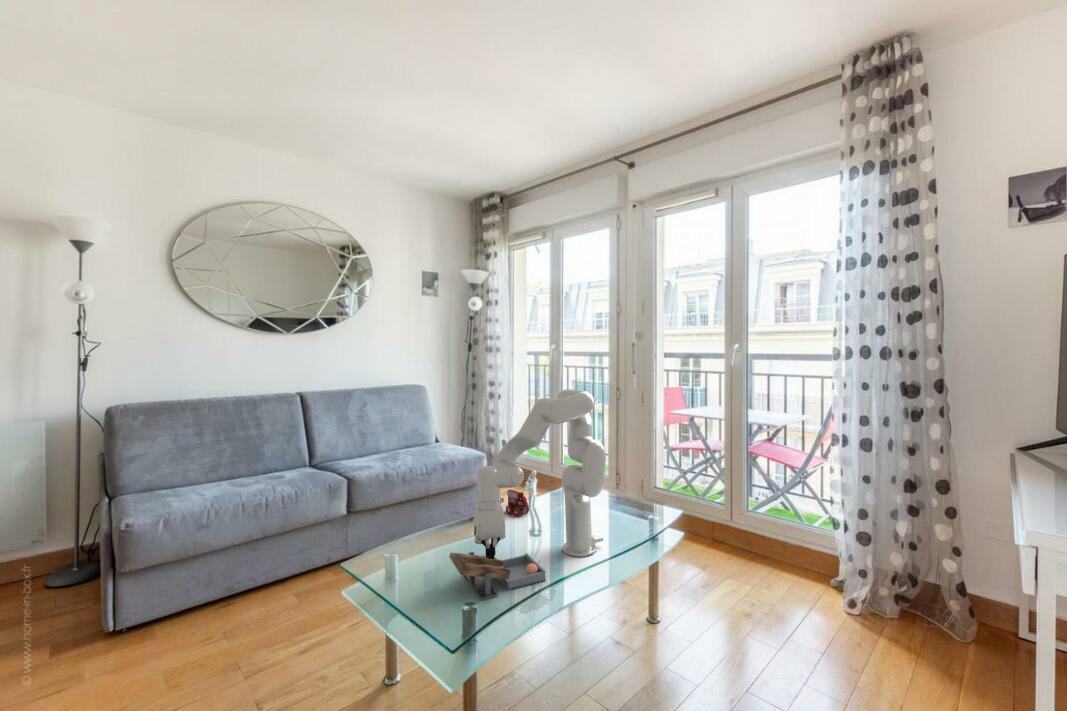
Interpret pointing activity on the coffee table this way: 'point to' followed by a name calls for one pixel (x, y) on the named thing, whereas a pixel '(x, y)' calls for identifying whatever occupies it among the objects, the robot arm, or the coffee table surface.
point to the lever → (479, 565)
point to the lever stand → (482, 585)
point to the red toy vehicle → (516, 503)
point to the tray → (521, 572)
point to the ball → (531, 569)
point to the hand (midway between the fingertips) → (490, 558)
